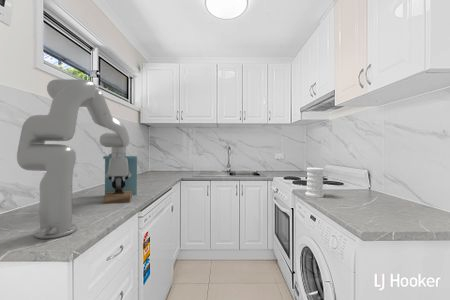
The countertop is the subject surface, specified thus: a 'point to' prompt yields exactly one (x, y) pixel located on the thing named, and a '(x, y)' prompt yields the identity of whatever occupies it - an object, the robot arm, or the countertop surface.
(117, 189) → the peg
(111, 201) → the socket block
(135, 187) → the teal upright box
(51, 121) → the robot arm
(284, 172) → the countertop surface
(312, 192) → the decorative container
